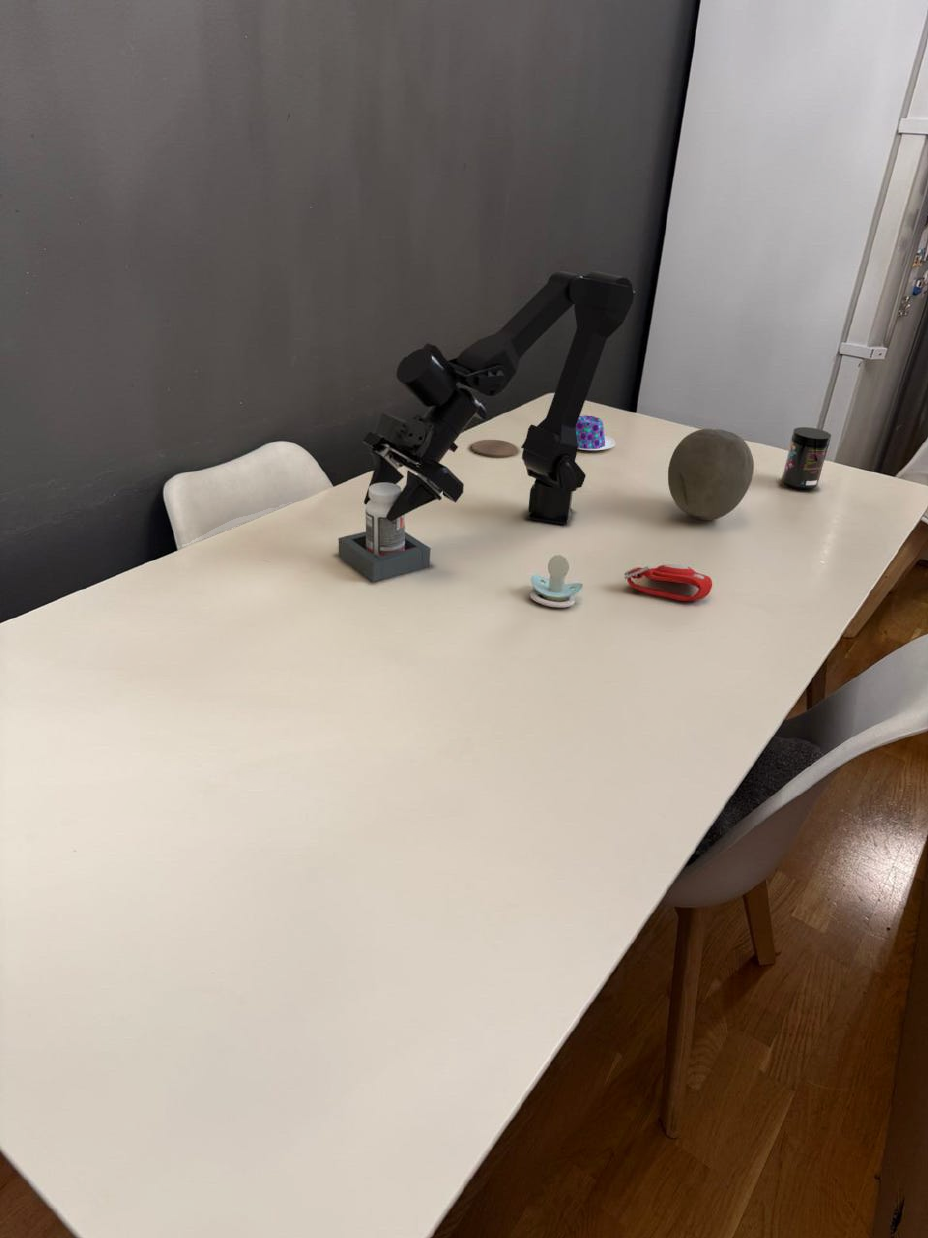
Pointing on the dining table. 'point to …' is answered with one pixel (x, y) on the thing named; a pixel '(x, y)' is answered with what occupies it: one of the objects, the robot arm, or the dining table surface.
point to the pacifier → (555, 585)
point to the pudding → (592, 434)
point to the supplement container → (805, 458)
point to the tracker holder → (672, 580)
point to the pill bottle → (383, 521)
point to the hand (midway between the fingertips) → (377, 511)
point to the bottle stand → (383, 557)
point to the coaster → (494, 448)
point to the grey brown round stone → (710, 473)
